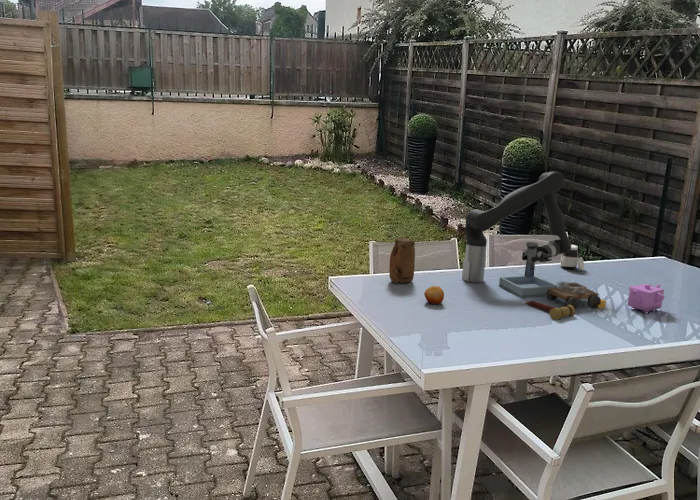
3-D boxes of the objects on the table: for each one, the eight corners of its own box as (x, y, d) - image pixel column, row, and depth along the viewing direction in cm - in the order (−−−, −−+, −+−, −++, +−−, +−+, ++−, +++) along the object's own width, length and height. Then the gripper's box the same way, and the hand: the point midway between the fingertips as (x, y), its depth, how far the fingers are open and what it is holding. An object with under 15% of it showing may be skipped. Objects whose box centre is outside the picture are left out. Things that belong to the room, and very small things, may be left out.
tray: (521, 297, 273) (522, 288, 272) (499, 285, 290) (499, 277, 289) (556, 294, 279) (557, 286, 278) (532, 283, 296) (533, 275, 295)
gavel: (518, 298, 263) (534, 295, 268) (517, 309, 263) (534, 305, 269) (559, 309, 245) (575, 306, 251) (558, 321, 246) (575, 317, 251)
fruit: (447, 297, 265) (445, 284, 260) (442, 311, 260) (440, 298, 255) (429, 294, 269) (427, 281, 263) (423, 308, 264) (421, 295, 258)
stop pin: (527, 278, 280) (530, 244, 276) (520, 275, 285) (523, 242, 281) (537, 277, 282) (540, 244, 278) (530, 274, 286) (533, 241, 283)
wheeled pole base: (567, 310, 258) (569, 291, 257) (545, 299, 272) (547, 281, 270) (599, 307, 264) (602, 289, 262) (576, 296, 277) (578, 279, 275)
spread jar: (558, 264, 332) (561, 243, 329) (581, 266, 330) (583, 244, 327) (562, 270, 320) (565, 248, 317) (586, 272, 319) (588, 250, 316)
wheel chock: (598, 308, 263) (599, 301, 262) (593, 305, 266) (594, 299, 265) (605, 307, 264) (606, 301, 263) (600, 305, 267) (601, 298, 266)
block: (405, 278, 297) (407, 236, 292) (415, 282, 291) (417, 239, 286) (386, 281, 291) (388, 238, 287) (396, 285, 285) (398, 242, 280)
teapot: (623, 302, 272) (627, 278, 269) (657, 305, 269) (661, 281, 266) (629, 313, 258) (633, 288, 255) (665, 317, 254) (669, 291, 252)
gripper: (531, 242, 295) (513, 248, 283) (560, 247, 286) (544, 253, 274) (529, 257, 297) (512, 264, 284) (558, 263, 288) (542, 270, 275)
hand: (528, 259), depth 279 cm, fingers closed on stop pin, 4 cm apart
